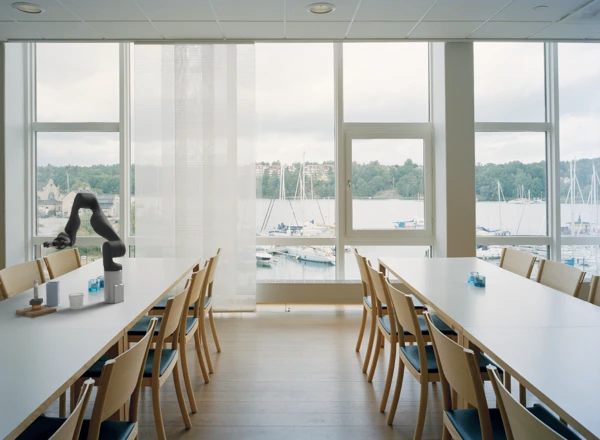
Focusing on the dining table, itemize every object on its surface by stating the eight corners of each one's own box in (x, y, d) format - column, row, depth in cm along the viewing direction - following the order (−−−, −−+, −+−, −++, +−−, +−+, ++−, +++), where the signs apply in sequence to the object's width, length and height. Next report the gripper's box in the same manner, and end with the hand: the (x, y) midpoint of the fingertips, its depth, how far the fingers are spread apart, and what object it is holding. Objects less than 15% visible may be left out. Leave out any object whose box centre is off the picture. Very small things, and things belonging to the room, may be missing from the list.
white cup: (80, 305, 222) (80, 292, 222) (86, 307, 218) (86, 294, 218) (66, 307, 217) (66, 294, 217) (72, 310, 213) (72, 296, 212)
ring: (42, 302, 211) (42, 298, 210) (40, 304, 206) (40, 300, 206) (31, 302, 209) (31, 298, 209) (29, 305, 204) (29, 301, 204)
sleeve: (59, 303, 225) (59, 281, 225) (57, 305, 221) (57, 283, 220) (48, 304, 224) (48, 281, 223) (46, 306, 219) (46, 283, 218)
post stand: (56, 311, 210) (55, 279, 209) (34, 317, 200) (34, 283, 199) (38, 308, 216) (37, 276, 215) (16, 313, 206) (15, 280, 205)
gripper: (47, 236, 243) (41, 239, 228) (75, 235, 248) (70, 238, 233) (47, 249, 243) (41, 253, 228) (75, 248, 248) (71, 252, 233)
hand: (56, 245), depth 231 cm, fingers open, 8 cm apart
